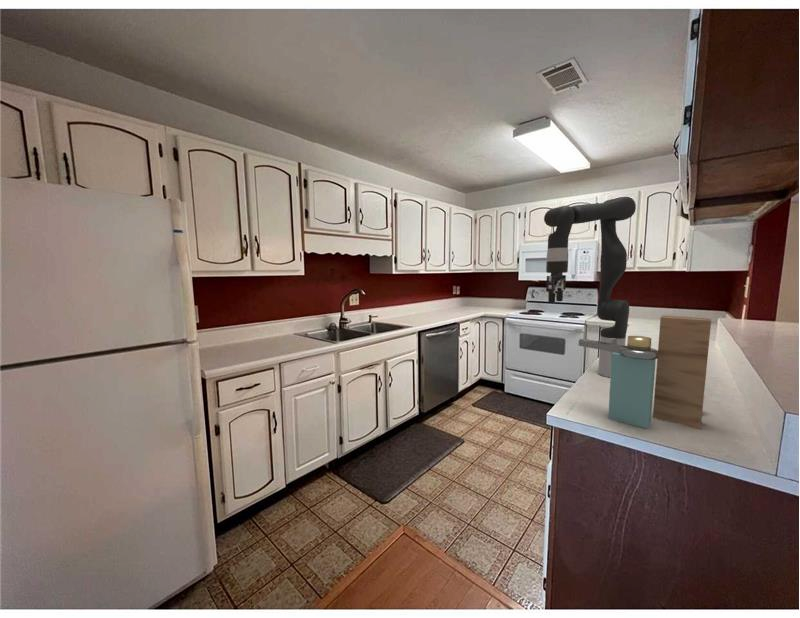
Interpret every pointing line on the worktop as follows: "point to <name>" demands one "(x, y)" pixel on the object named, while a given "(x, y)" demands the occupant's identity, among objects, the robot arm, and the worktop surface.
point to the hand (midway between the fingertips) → (555, 302)
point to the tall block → (631, 390)
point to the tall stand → (681, 369)
